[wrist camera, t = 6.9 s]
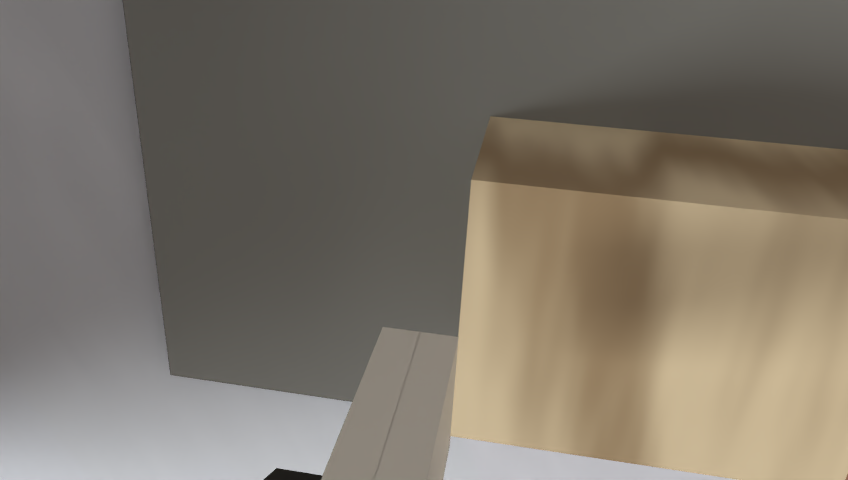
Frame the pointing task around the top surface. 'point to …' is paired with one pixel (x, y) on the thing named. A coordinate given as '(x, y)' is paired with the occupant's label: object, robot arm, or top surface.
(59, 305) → the top surface
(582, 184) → the flip block
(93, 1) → the top surface
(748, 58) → the mat
